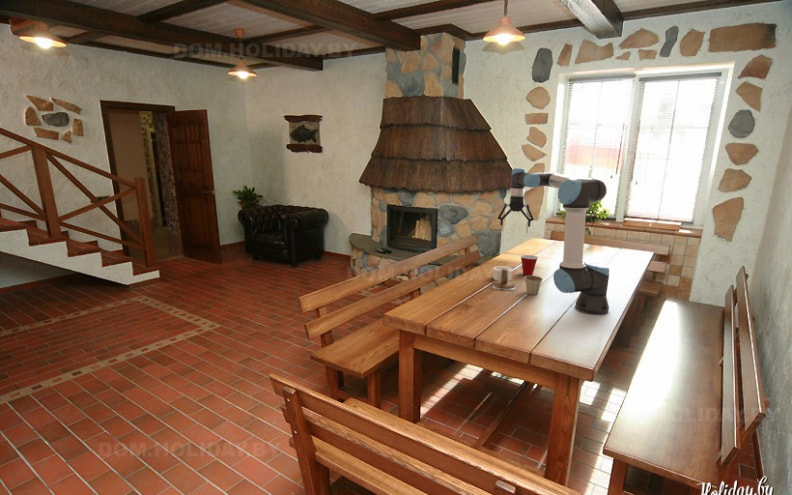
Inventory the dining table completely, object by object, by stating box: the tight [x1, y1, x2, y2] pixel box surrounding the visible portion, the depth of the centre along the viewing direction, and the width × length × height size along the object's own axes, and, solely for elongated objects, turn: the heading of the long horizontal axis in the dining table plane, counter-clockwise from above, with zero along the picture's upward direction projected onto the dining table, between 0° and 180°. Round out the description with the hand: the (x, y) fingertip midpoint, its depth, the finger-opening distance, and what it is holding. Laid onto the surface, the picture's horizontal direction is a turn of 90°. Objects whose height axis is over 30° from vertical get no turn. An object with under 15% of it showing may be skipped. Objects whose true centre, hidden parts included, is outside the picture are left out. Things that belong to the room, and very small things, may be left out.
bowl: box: [492, 265, 512, 281], centre depth 254 cm, size 10×10×6 cm
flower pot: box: [524, 275, 544, 296], centre depth 229 cm, size 9×9×9 cm
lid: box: [492, 269, 516, 289], centre depth 240 cm, size 12×12×9 cm
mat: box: [491, 284, 516, 291], centre depth 241 cm, size 12×12×1 cm
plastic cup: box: [520, 254, 539, 277], centre depth 262 cm, size 11×11×12 cm
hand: (514, 231), depth 245 cm, fingers open, 13 cm apart
